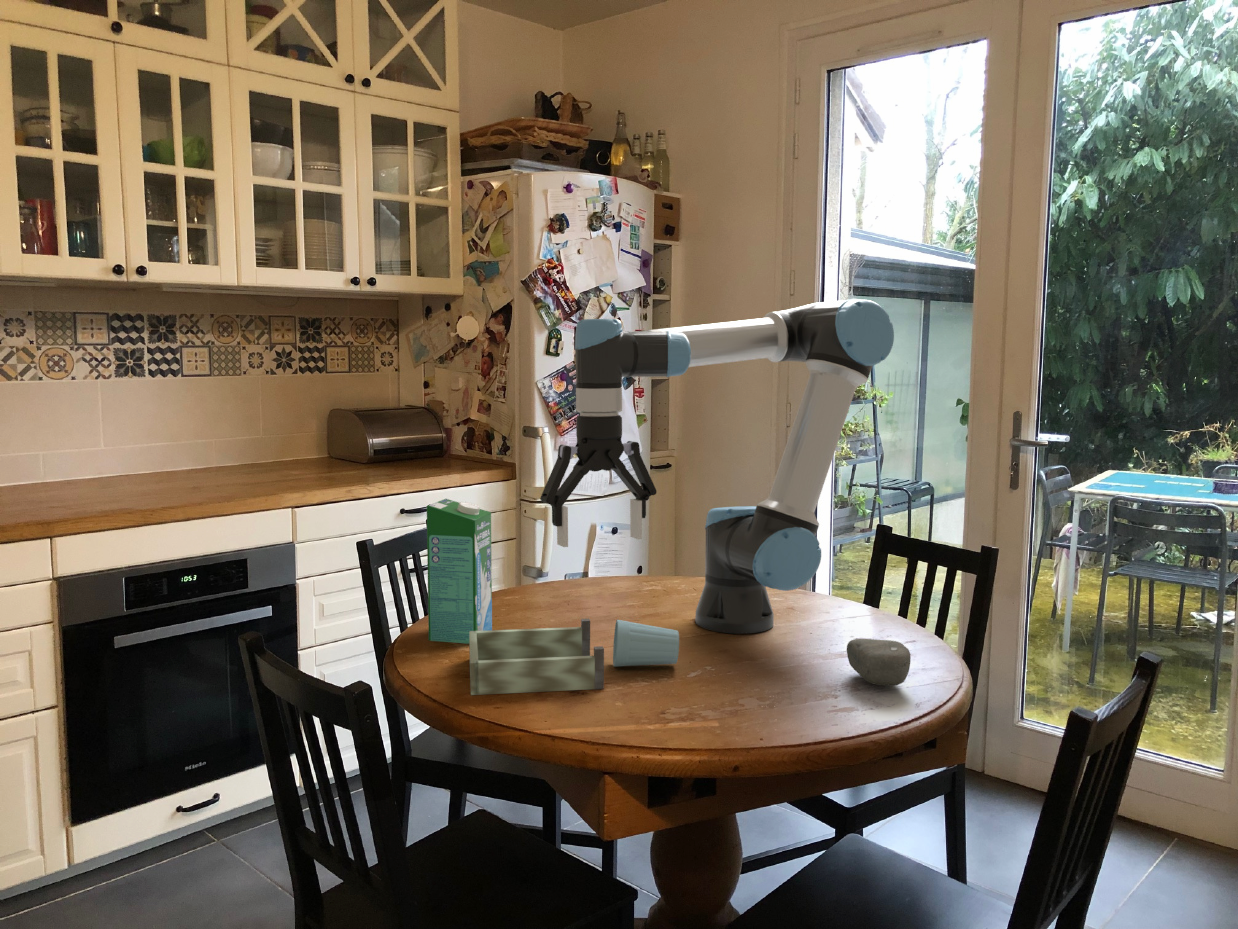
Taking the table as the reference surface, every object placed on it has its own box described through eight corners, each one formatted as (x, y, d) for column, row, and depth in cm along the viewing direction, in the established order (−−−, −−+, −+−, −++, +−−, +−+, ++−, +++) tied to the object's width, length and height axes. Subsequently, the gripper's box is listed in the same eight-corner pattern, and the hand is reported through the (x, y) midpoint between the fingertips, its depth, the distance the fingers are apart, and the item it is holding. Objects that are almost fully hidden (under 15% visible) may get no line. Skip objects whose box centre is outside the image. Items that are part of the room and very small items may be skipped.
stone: (897, 660, 162) (906, 620, 156) (907, 704, 155) (917, 664, 149) (842, 660, 163) (849, 620, 156) (850, 704, 156) (857, 663, 150)
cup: (678, 670, 158) (615, 666, 157) (672, 670, 165) (611, 666, 165) (681, 623, 159) (618, 618, 159) (675, 625, 167) (615, 621, 166)
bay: (588, 654, 169) (589, 618, 168) (603, 689, 152) (604, 649, 151) (469, 659, 165) (469, 623, 165) (470, 695, 148) (470, 654, 148)
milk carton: (475, 645, 174) (474, 507, 171) (428, 642, 176) (426, 505, 173) (492, 631, 183) (491, 499, 180) (446, 628, 184) (445, 497, 182)
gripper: (654, 410, 168) (654, 531, 171) (519, 415, 157) (521, 544, 159) (676, 412, 162) (676, 538, 164) (537, 418, 150) (539, 553, 153)
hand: (600, 541), depth 162 cm, fingers open, 13 cm apart
